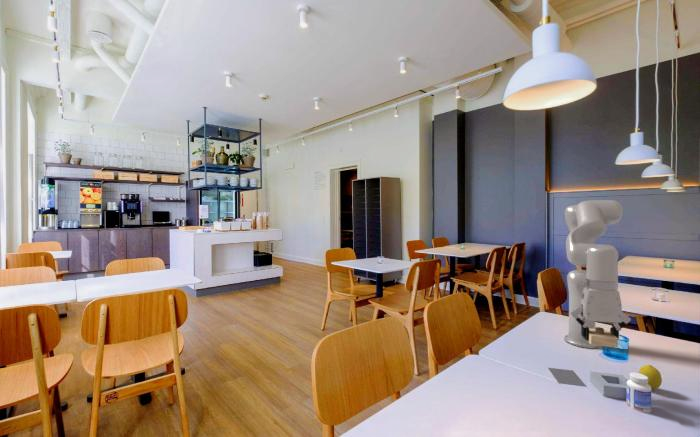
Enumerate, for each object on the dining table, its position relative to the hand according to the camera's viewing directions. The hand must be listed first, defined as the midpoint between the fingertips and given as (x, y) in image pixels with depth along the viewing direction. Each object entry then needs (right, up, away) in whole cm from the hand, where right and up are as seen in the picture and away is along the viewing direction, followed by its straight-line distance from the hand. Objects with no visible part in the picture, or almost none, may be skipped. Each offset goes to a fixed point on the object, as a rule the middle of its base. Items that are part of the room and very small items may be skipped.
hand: (599, 339), depth 105 cm
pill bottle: (+3, -16, -10) cm, 20 cm away
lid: (0, -1, 0) cm, 1 cm away
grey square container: (+3, -16, -2) cm, 16 cm away
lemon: (+16, -16, 0) cm, 23 cm away
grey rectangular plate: (-6, -16, +7) cm, 18 cm away
